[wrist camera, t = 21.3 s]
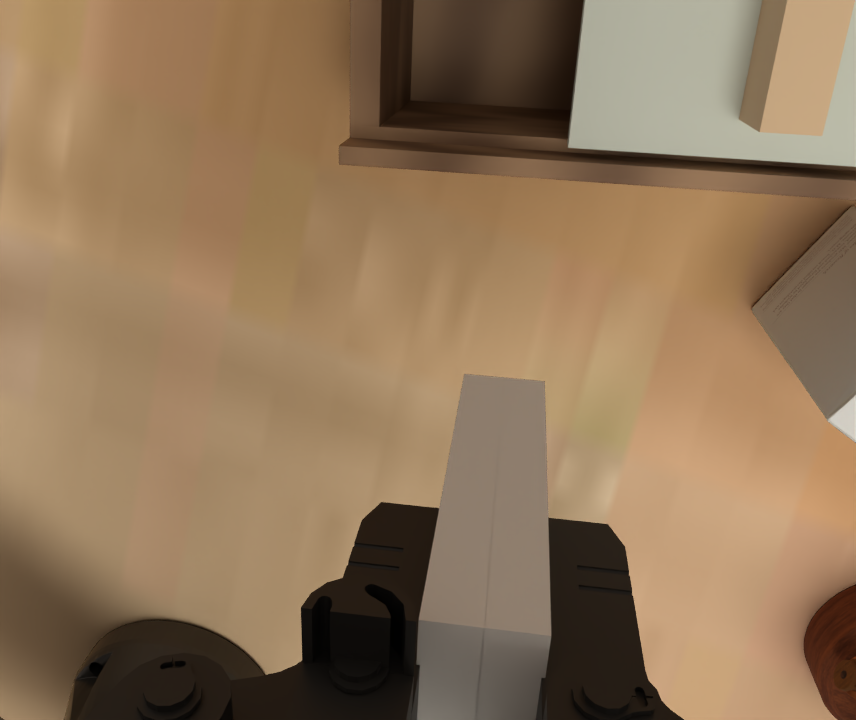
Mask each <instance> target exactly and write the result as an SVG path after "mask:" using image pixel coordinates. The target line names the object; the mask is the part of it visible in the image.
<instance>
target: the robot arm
mask: <svg viewBox="0 0 856 720" xmlns="http://www.w3.org/2000/svg"><path fill="white" fill-rule="evenodd" d="M301 623H302V661H301V662H299V663H298V664H297V665H295V666H292V667H290V668H288V669H285V670H283V671H281V672H277V673H273V674H268V675H264V674H263V672H262V671H261V670H260V669H259V667H258V666H257V665H256V664H255V663H254V662H253V661H252V660H251V659H250V658H249V657H248V656H247V655H246V654H245V653H244V652H242V651H241V650H240V649H239V648H237V647H236V646H234V645H233V644H231V643H230V642H228V641H227V640H225V639H223V638H221V637H219V636H218V635H216V634H213V633H211V632H209V631H206V630H204V629H201V628H198V627H195V626H192V625H188V624H183V623H178V622H172V621H142V622H136V623H132V624H128V625H125V626H122V627H120V628H117V629H115V630H113V631H112V632H110V633H108V634H107V635H106V636H104V637H103V638H102V639H101V640H100V641H99V642H98V643H97V644H96V645H95V647H94V648H93V650H92V651H91V653H90V654H89V656H88V657H87V659H86V660H85V661H84V663H83V664H82V666H81V667H80V669H79V671H78V673H77V675H76V677H75V680H74V682H73V686H72V690H71V694H70V698H69V702H68V706H67V710H66V714H65V718H64V720H684V719H682V718H681V717H680V716H678V715H677V714H675V713H674V712H673V711H671V710H670V709H669V708H668V707H667V706H666V705H665V704H664V703H663V702H662V701H661V698H660V696H659V694H658V691H657V689H656V688H655V687H654V686H653V685H652V684H651V683H650V682H649V681H648V678H647V675H646V672H645V666H644V660H643V654H642V648H641V642H640V636H639V630H638V624H637V618H636V611H635V605H634V599H633V596H632V587H631V581H630V576H629V569H628V562H627V556H626V550H625V546H624V545H623V544H622V542H621V541H620V540H619V538H618V537H617V536H616V534H615V533H614V532H613V530H612V529H611V528H610V527H609V525H608V524H600V523H591V522H582V521H572V520H563V519H554V518H548V489H547V450H546V412H545V381H536V380H525V379H514V378H504V377H493V376H482V375H471V374H464V378H463V384H462V389H461V395H460V400H459V405H458V411H457V416H456V421H455V427H454V432H453V438H452V443H451V448H450V454H449V459H448V465H447V470H446V475H445V481H444V486H443V491H442V497H441V502H440V508H431V507H421V506H412V505H403V504H393V503H384V502H381V503H380V504H379V505H378V506H377V507H376V508H375V509H373V510H372V511H371V512H370V513H369V514H368V515H367V516H366V517H365V518H364V519H363V520H362V522H361V525H360V528H359V531H358V534H357V537H356V540H355V545H354V547H353V549H352V552H351V555H350V558H349V563H348V566H347V567H346V570H345V573H344V576H343V578H341V579H338V580H334V581H331V582H328V583H326V584H324V585H323V586H321V587H320V588H318V589H317V590H315V591H314V592H312V593H311V594H310V595H309V597H308V598H307V600H306V601H305V603H304V604H303V606H302V607H301ZM0 720H4V719H3V718H1V717H0Z"/></svg>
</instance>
